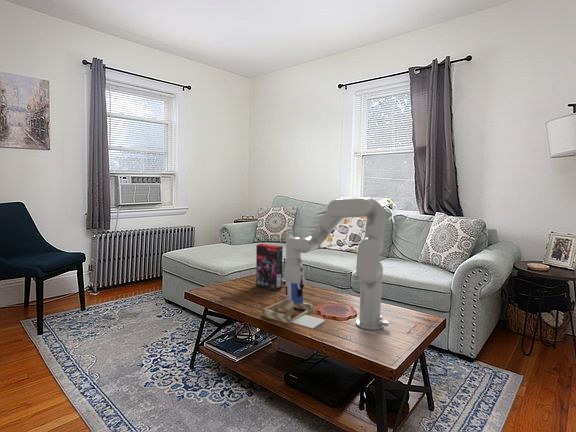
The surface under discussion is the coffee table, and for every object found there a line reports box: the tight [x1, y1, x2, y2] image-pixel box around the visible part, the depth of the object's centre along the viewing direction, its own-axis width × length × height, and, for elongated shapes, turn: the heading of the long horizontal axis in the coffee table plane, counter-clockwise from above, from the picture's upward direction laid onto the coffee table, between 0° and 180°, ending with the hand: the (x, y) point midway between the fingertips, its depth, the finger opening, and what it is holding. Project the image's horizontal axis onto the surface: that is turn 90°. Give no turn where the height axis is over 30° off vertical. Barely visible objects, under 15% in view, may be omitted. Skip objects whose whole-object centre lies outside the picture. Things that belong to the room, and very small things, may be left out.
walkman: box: [287, 280, 304, 304], centre depth 180 cm, size 8×3×12 cm, turn 87°
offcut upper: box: [277, 298, 295, 313], centre depth 171 cm, size 6×6×4 cm
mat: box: [290, 314, 326, 330], centre depth 167 cm, size 12×12×1 cm
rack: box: [262, 297, 313, 324], centre depth 177 cm, size 16×21×4 cm
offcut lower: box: [276, 309, 295, 318], centre depth 172 cm, size 6×6×4 cm
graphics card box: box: [255, 243, 284, 291], centre depth 221 cm, size 17×7×27 cm, turn 54°
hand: (294, 295), depth 180 cm, fingers closed on walkman, 6 cm apart
